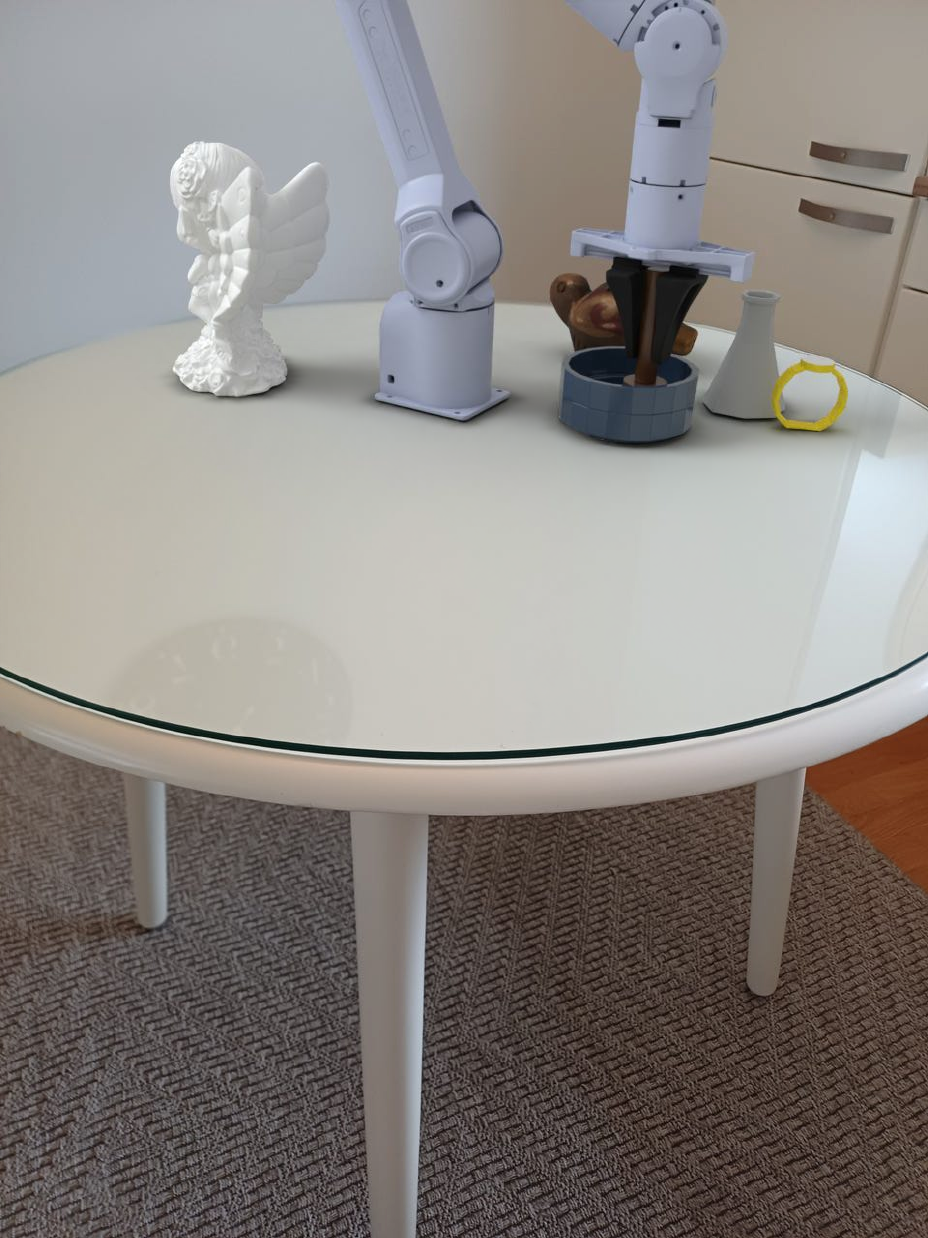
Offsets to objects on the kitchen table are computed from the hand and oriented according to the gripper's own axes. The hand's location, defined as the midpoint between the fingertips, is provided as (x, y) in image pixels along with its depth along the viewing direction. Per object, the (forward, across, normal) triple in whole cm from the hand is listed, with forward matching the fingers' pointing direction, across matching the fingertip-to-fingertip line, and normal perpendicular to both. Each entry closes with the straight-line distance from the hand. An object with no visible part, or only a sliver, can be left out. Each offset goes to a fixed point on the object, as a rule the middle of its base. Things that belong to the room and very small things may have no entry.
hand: (647, 358), depth 89 cm
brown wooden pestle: (+3, 0, 0) cm, 3 cm away
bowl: (+6, -1, 0) cm, 6 cm away
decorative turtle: (+6, -9, +16) cm, 19 cm away
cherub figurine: (+6, -35, -9) cm, 37 cm away
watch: (+6, +12, +8) cm, 15 cm away
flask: (+6, +6, +10) cm, 13 cm away
